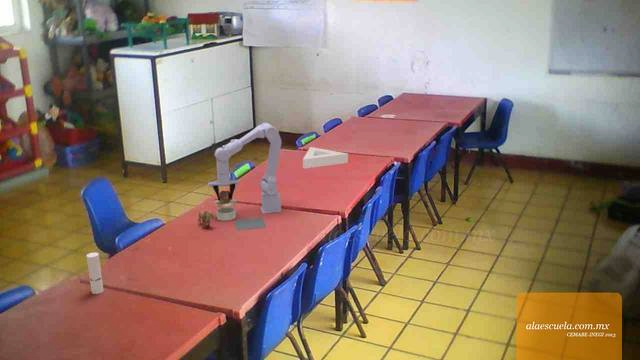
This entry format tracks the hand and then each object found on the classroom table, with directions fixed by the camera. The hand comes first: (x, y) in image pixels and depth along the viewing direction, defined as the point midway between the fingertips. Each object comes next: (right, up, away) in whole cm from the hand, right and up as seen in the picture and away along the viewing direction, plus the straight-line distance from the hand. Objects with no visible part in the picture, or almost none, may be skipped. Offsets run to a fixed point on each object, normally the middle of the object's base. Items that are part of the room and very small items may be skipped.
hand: (225, 199), depth 314 cm
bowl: (0, -9, +3) cm, 9 cm away
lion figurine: (-8, -12, -6) cm, 16 cm away
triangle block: (+51, +20, +93) cm, 107 cm away
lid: (0, -2, +1) cm, 2 cm away
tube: (-38, -33, -68) cm, 85 cm away
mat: (+13, -12, -6) cm, 18 cm away
